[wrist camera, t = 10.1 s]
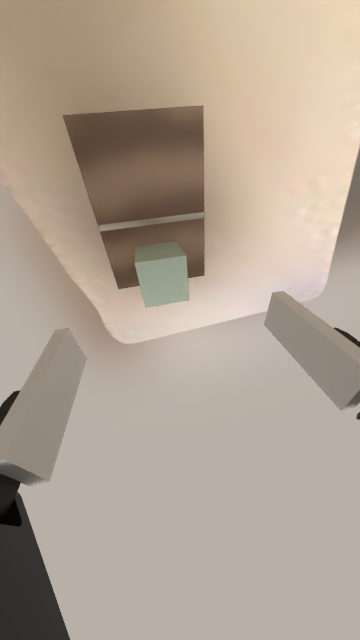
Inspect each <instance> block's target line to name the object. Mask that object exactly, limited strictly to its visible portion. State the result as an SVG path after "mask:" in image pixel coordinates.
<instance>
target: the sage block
mask: <svg viewBox="0 0 360 640" xmlns="http://www.w3.org/2000/svg"><path fill="white" fill-rule="evenodd" d="M135 267H136V271H137V276H138V280H139V284H140V288H141V292H142V296H143V301H144V305H145V307H151V306H157V305H163V304H169V303H175V302H181V301H187V300H189V289H188V273H187V258H186V254H185V253H184V251H183V250H182V249H181V247H180V246H179V244H178V243H177V241H172V242H165V243H158V244H151V245H143V246H136V247H135Z"/></svg>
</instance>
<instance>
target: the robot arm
mask: <svg viewBox="0 0 360 640" xmlns="http://www.w3.org/2000/svg"><path fill="white" fill-rule="evenodd" d="M264 325H265V326H266V327H267V328H268V330H269V331H270V332H271V333H272V334H273V335H274V336H275V337H276V339H277V340H278V341H279V342H280V343H281V344H282V345H283V346H284V348H285V349H286V350H287V351H288V352H289V353H290V354H291V355H292V356H293V358H294V359H295V360H296V361H297V362H298V363H299V364H300V366H301V367H302V368H303V369H304V370H305V371H306V372H307V373H308V374H309V376H310V377H311V378H312V379H313V380H314V381H315V382H316V383H317V385H318V386H319V387H320V388H321V389H322V390H323V391H324V392H325V394H326V395H327V396H328V397H329V398H330V399H331V400H332V401H333V403H334V404H335V405H336V406H337V407H338V408H339V409H340V410H345V409H349V408H353V407H355V406H357V404H359V402H360V342H359V341H357V339H355V338H354V337H352V336H351V335H350V334H348V333H347V332H344V331H342V330H340V329H338V328H332V327H331V326H330V325H328V324H327V323H325V322H324V321H323V320H321V319H320V318H319V317H317V316H316V315H315V314H313V313H312V312H311V311H309V310H308V309H307V308H305V307H304V306H303V305H301V304H300V303H299V302H297V301H296V300H294V299H293V298H292V297H290V296H289V295H288V294H286V293H285V292H284V291H280V292H274V293H272V296H271V300H270V304H269V308H268V312H267V316H266V320H265V324H264ZM86 359H87V358H86V356H85V355H84V353H83V351H82V350H81V348H80V346H79V345H78V343H77V341H76V340H75V338H74V336H73V334H72V333H71V331H70V330H69V328H66V329H60V330H55V332H54V333H53V335H52V337H51V339H50V340H49V342H48V344H47V346H46V348H45V349H44V351H43V353H42V354H41V356H40V358H39V359H38V361H37V363H36V365H35V367H34V368H33V370H32V372H31V373H30V375H29V377H28V379H27V380H26V382H25V384H24V386H23V387H22V389H21V390H20V391H15V392H13V393H12V394H11V395H10V396H9V397H8V398H7V400H5V401H4V402H3V404H2V405H1V407H0V640H70V638H69V636H68V633H67V629H66V626H65V623H64V621H63V618H62V615H61V612H60V609H59V606H58V603H57V600H56V597H55V594H54V591H53V588H52V585H51V582H50V579H49V577H48V574H47V571H46V568H45V565H44V562H43V559H42V556H41V553H40V550H39V547H38V544H37V542H36V539H35V536H34V533H33V530H32V527H31V524H30V521H29V518H28V515H27V512H26V509H25V506H24V503H23V500H22V497H21V496H20V494H19V493H18V492H17V491H18V488H19V485H20V483H23V484H26V485H28V486H33V485H37V484H41V483H45V482H49V481H50V478H51V475H52V472H53V468H54V465H55V461H56V458H57V455H58V452H59V448H60V445H61V442H62V438H63V435H64V432H65V429H66V425H67V422H68V419H69V415H70V412H71V409H72V405H73V402H74V399H75V395H76V392H77V389H78V385H79V382H80V379H81V376H82V372H83V369H84V366H85V362H86ZM357 419H360V412H359V413H358V415H357Z"/></svg>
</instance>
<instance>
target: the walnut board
mask: <svg viewBox="0 0 360 640" xmlns="http://www.w3.org/2000/svg"><path fill="white" fill-rule="evenodd" d="M63 118H64V121H65V124H66V127H67V130H68V133H69V136H70V140H71V143H72V146H73V149H74V152H75V155H76V158H77V161H78V164H79V168H80V171H81V174H82V177H83V180H84V183H85V186H86V189H87V192H88V196H89V199H90V202H91V205H92V208H93V211H94V214H95V217H96V220H97V223H98V227H99V230H100V233H101V236H102V239H103V242H104V245H105V248H106V251H107V255H108V258H109V261H110V264H111V267H112V270H113V273H114V276H115V279H116V283H117V286H118V289H122V288H128V287H135V286H140V284H139V280H138V276H137V271H136V267H135V247H136V246H143V245H151V244H158V243H165V242H172V241H177V243H178V244H179V246H180V247H181V249H182V250H183V251H184V253H185V254H186V258H187V273H188V278H192V277H198V276H204V138H203V106H190V107H176V108H161V109H147V110H133V111H118V112H104V113H90V114H75V115H63Z"/></svg>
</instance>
